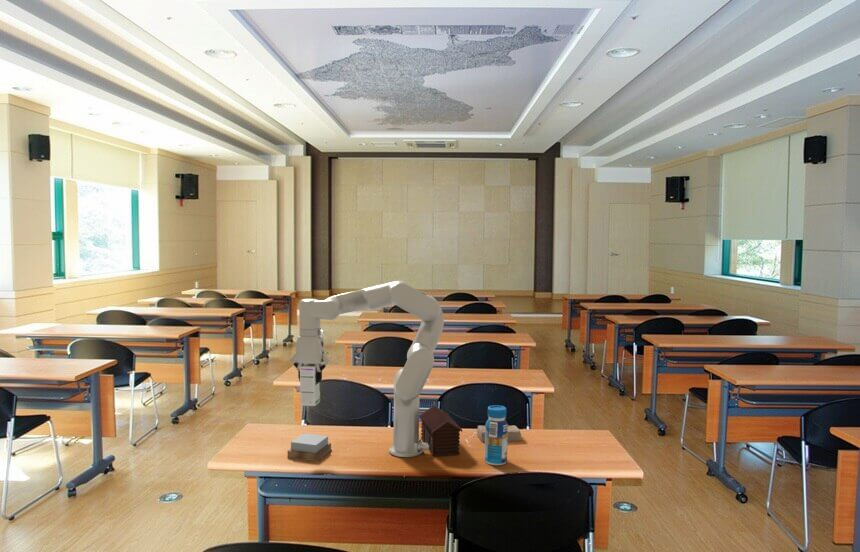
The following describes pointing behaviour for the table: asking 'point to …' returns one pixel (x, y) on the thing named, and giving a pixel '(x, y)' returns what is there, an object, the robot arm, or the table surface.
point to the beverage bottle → (496, 436)
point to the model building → (440, 432)
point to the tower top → (309, 443)
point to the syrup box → (309, 385)
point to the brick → (512, 430)
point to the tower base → (309, 454)
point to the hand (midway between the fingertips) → (310, 380)
